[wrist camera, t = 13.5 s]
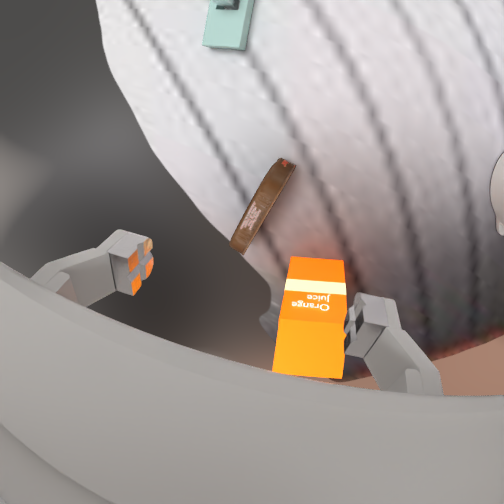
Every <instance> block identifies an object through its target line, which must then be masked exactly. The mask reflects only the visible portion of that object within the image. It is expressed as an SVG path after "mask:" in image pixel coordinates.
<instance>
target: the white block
mask: <svg viewBox="0 0 504 504" xmlns="http://www.w3.org/2000/svg"><path fill="white" fill-rule="evenodd" d="M211 1H212V2H214V3H215V4H216V5H218V6H224V7H225V8H226V9H227V10H238V9H239V4H240V1H239V0H211Z"/></svg>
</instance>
